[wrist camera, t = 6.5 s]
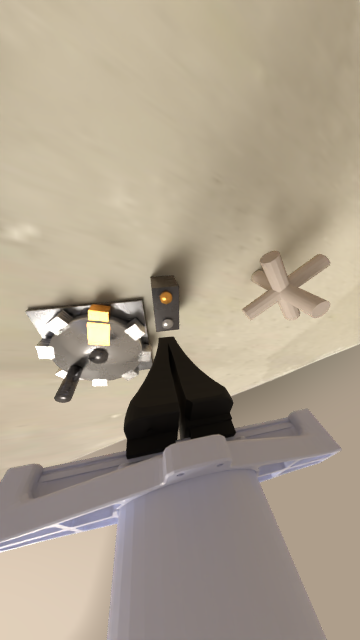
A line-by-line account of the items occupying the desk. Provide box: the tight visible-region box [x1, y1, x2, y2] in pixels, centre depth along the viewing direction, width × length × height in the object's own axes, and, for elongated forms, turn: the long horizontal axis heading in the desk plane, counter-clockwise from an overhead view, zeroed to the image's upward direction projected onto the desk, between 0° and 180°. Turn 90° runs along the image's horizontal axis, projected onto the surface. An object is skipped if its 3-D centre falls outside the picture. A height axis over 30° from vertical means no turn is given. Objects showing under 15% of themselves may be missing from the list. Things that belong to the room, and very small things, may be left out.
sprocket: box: [36, 304, 151, 403], centre depth 21 cm, size 15×15×6 cm
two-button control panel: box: [151, 276, 179, 332], centre depth 20 cm, size 6×3×4 cm, turn 0°
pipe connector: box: [242, 251, 330, 320], centre depth 18 cm, size 10×10×10 cm
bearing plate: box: [25, 299, 153, 380], centre depth 24 cm, size 14×14×1 cm
